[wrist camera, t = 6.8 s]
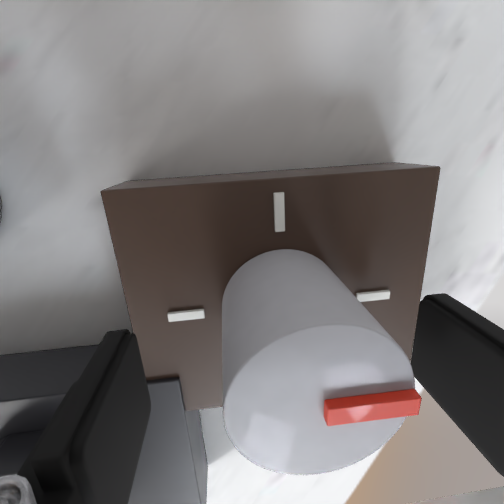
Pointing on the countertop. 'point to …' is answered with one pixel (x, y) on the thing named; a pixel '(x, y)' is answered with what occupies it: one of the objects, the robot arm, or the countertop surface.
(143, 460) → the push button base
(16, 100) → the countertop surface
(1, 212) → the bottle
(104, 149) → the countertop surface
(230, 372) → the dial
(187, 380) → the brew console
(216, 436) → the countertop surface
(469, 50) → the countertop surface
